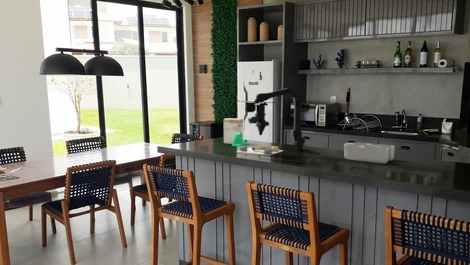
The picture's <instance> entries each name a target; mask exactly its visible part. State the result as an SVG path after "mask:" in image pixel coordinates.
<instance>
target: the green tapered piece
mask: <svg viewBox="0 0 470 265" xmlns="http://www.w3.org/2000/svg"><path fill="white" fill-rule="evenodd" d="M247 145H250V142H247V141H246V142H245V141H244V138H243V139H242V133H236V134H235V137H234V140H233V142H232V144H231V146H232V147H236V148H238V147H239V148H240V147H241V146H247Z"/></svg>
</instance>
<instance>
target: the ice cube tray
mask: <svg viewBox="0 0 470 265" xmlns="http://www.w3.org/2000/svg"><path fill="white" fill-rule="evenodd" d="M395 148H396V147H395V145H391V144H382V143H381V144H380V143H379V144H378V143H367V142H346V143H344V144H343V151H344V152H343V153H344V155H343V156H344V159H347V160H351V161H352V160H353V161H358V162H359V161H360V162H366V163H367V162H368V163H375V164H376V163H377V164H387V163H388V162H389V161H393V160H394V158H395Z"/></svg>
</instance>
